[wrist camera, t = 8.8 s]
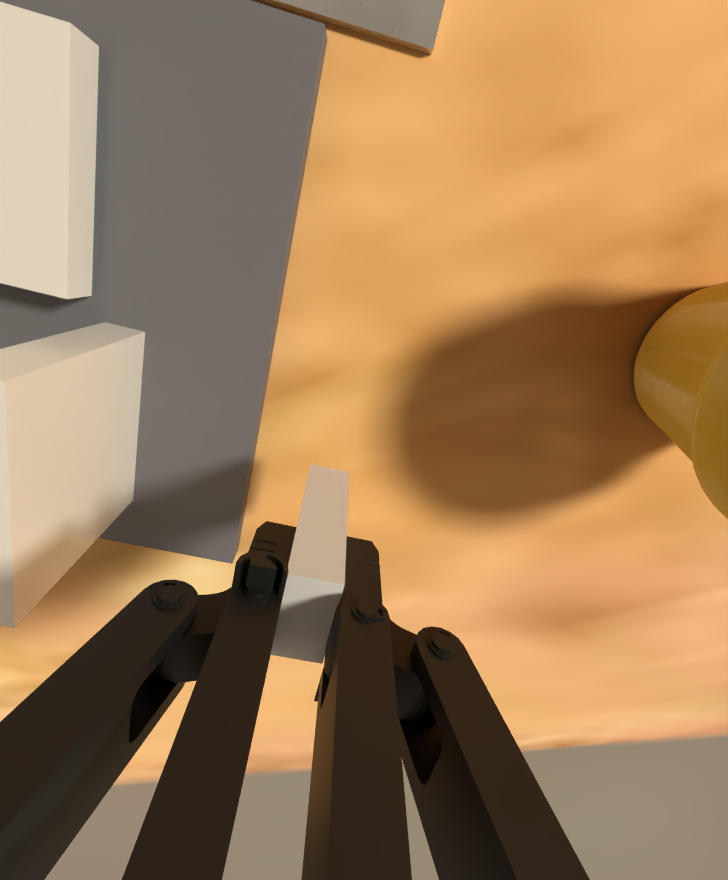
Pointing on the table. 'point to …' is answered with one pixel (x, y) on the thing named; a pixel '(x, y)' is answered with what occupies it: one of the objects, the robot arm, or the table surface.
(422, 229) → the table surface
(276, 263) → the mat
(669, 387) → the plant pot
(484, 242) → the table surface
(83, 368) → the tile
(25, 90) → the tile
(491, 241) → the table surface
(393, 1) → the turner
